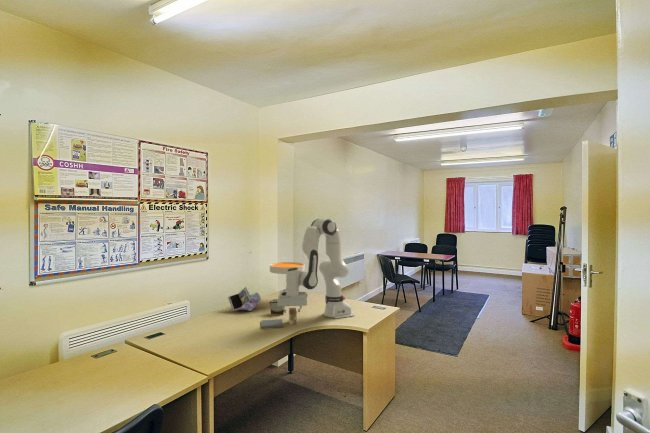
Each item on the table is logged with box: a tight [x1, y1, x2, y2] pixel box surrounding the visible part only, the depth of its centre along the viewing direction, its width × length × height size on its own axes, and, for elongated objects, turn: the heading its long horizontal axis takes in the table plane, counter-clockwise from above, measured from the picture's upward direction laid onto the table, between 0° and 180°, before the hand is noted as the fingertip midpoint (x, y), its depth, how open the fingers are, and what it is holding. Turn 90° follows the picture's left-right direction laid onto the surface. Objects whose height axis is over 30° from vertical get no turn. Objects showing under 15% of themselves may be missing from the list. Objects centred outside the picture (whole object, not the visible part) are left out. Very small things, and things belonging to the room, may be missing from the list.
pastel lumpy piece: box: [227, 286, 262, 312], centre depth 256 cm, size 20×22×18 cm
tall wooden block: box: [288, 307, 298, 326], centre depth 225 cm, size 5×9×9 cm, turn 10°
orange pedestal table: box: [269, 261, 306, 275], centre depth 279 cm, size 30×30×31 cm
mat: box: [260, 318, 284, 330], centre depth 222 cm, size 14×14×1 cm
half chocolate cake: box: [268, 298, 285, 316], centre depth 246 cm, size 12×6×10 cm, turn 84°
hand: (291, 312), depth 225 cm, fingers open, 8 cm apart
